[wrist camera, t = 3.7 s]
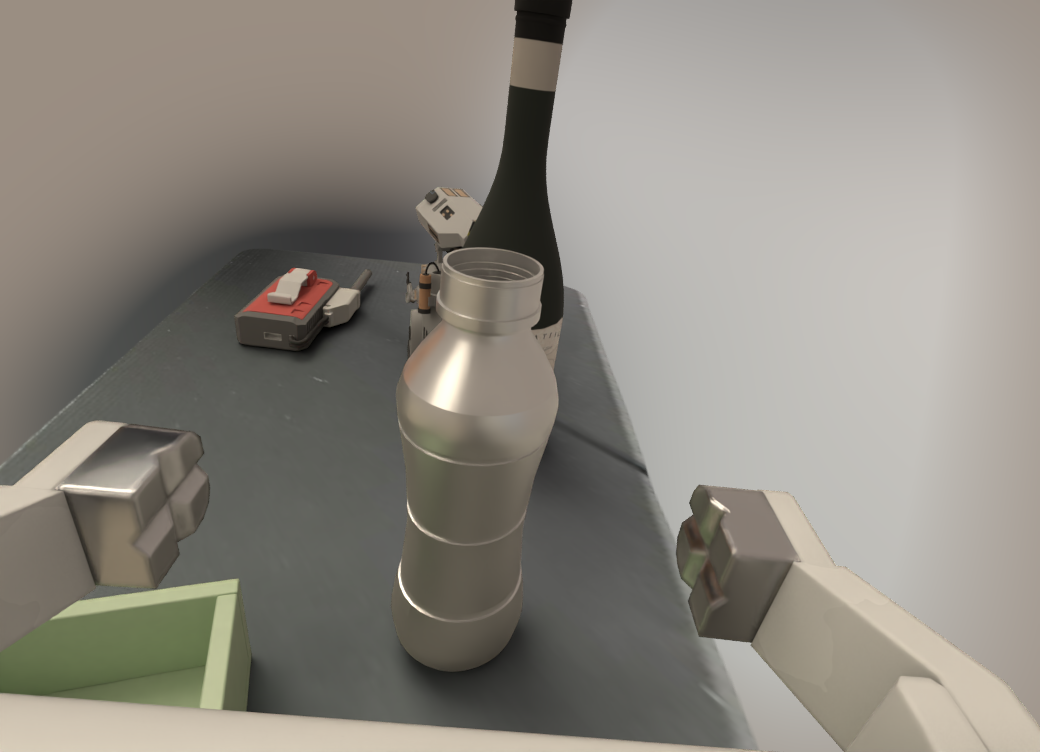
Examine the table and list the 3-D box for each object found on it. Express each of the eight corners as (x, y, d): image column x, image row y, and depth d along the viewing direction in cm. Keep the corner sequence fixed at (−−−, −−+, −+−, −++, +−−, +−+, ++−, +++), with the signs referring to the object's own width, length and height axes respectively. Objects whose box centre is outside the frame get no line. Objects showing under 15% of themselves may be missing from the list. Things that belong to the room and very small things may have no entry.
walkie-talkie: (325, 362, 52) (377, 284, 69) (323, 318, 50) (378, 248, 67) (226, 350, 52) (304, 274, 69) (219, 305, 49) (301, 238, 67)
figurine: (490, 330, 62) (506, 188, 55) (507, 385, 52) (530, 222, 45) (404, 327, 60) (408, 179, 53) (405, 384, 50) (411, 212, 43)
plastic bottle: (539, 618, 31) (615, 267, 22) (466, 721, 26) (522, 319, 16) (445, 561, 34) (475, 225, 24) (361, 644, 29) (356, 258, 19)
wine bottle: (554, 466, 43) (650, -12, 28) (450, 479, 40) (497, -43, 26) (519, 407, 50) (582, -7, 35) (427, 415, 47) (454, -32, 32)
